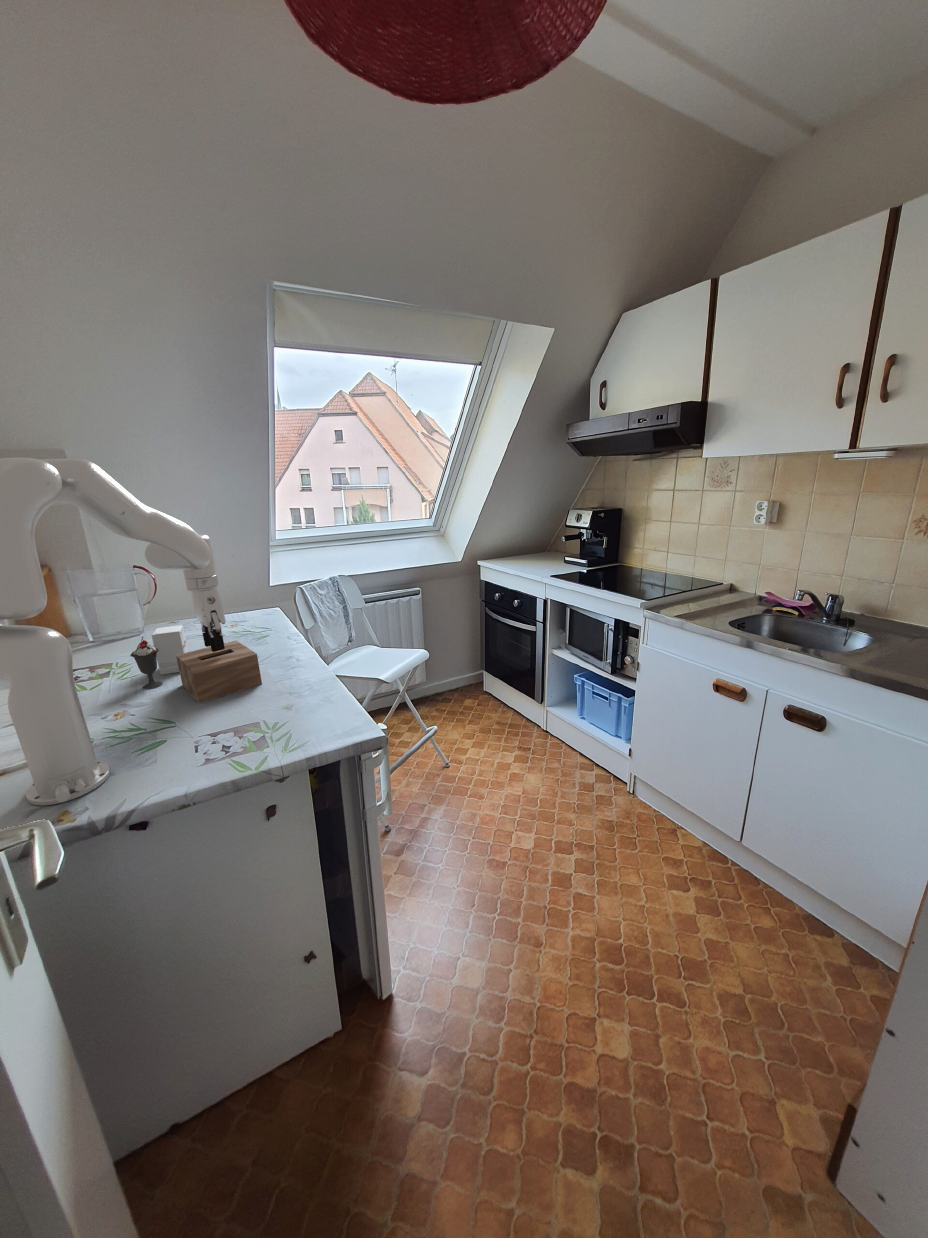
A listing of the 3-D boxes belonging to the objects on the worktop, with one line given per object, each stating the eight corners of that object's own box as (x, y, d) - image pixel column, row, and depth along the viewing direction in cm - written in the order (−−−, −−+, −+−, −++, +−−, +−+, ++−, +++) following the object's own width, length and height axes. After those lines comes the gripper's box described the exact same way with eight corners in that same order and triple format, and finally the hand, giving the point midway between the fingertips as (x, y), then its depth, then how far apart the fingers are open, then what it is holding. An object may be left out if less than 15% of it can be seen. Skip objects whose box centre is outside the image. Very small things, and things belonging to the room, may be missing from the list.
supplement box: (188, 671, 144) (179, 631, 140) (159, 675, 141) (150, 634, 138) (191, 662, 151) (183, 624, 147) (164, 666, 148) (155, 627, 144)
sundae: (153, 691, 131) (141, 639, 126) (132, 689, 132) (119, 638, 128) (172, 681, 137) (160, 631, 132) (152, 680, 138) (140, 630, 134)
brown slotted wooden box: (262, 683, 133) (256, 653, 131) (199, 703, 123) (192, 671, 120) (241, 668, 145) (236, 640, 142) (182, 685, 134) (175, 655, 132)
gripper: (228, 584, 122) (240, 651, 127) (207, 575, 134) (219, 637, 139) (196, 590, 117) (210, 659, 122) (177, 580, 129) (190, 644, 134)
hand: (214, 647), depth 131 cm, fingers open, 4 cm apart
